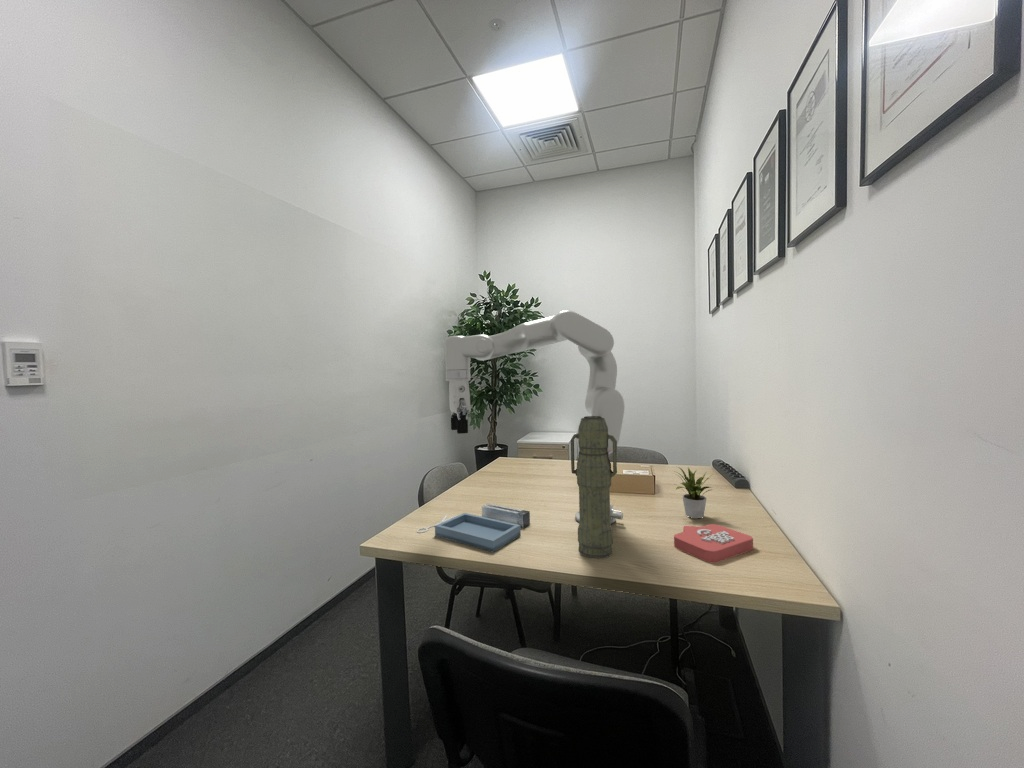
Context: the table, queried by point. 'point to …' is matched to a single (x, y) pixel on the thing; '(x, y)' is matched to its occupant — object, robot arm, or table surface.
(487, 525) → the tray
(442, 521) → the scissors
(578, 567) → the table surface
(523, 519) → the two-tone rectangular block
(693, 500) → the house plant
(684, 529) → the plaque
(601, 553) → the thermos
